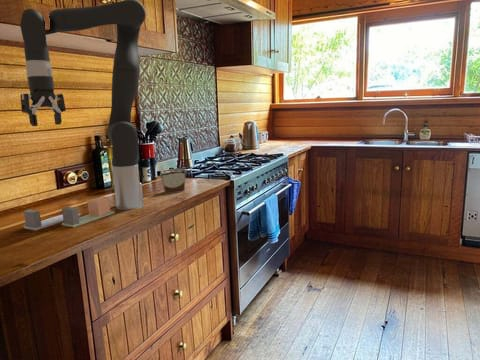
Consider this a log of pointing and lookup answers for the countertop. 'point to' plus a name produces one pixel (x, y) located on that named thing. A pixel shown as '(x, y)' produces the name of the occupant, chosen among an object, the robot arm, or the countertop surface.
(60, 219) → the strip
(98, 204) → the block
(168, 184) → the food container
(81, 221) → the block strip
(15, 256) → the countertop surface
